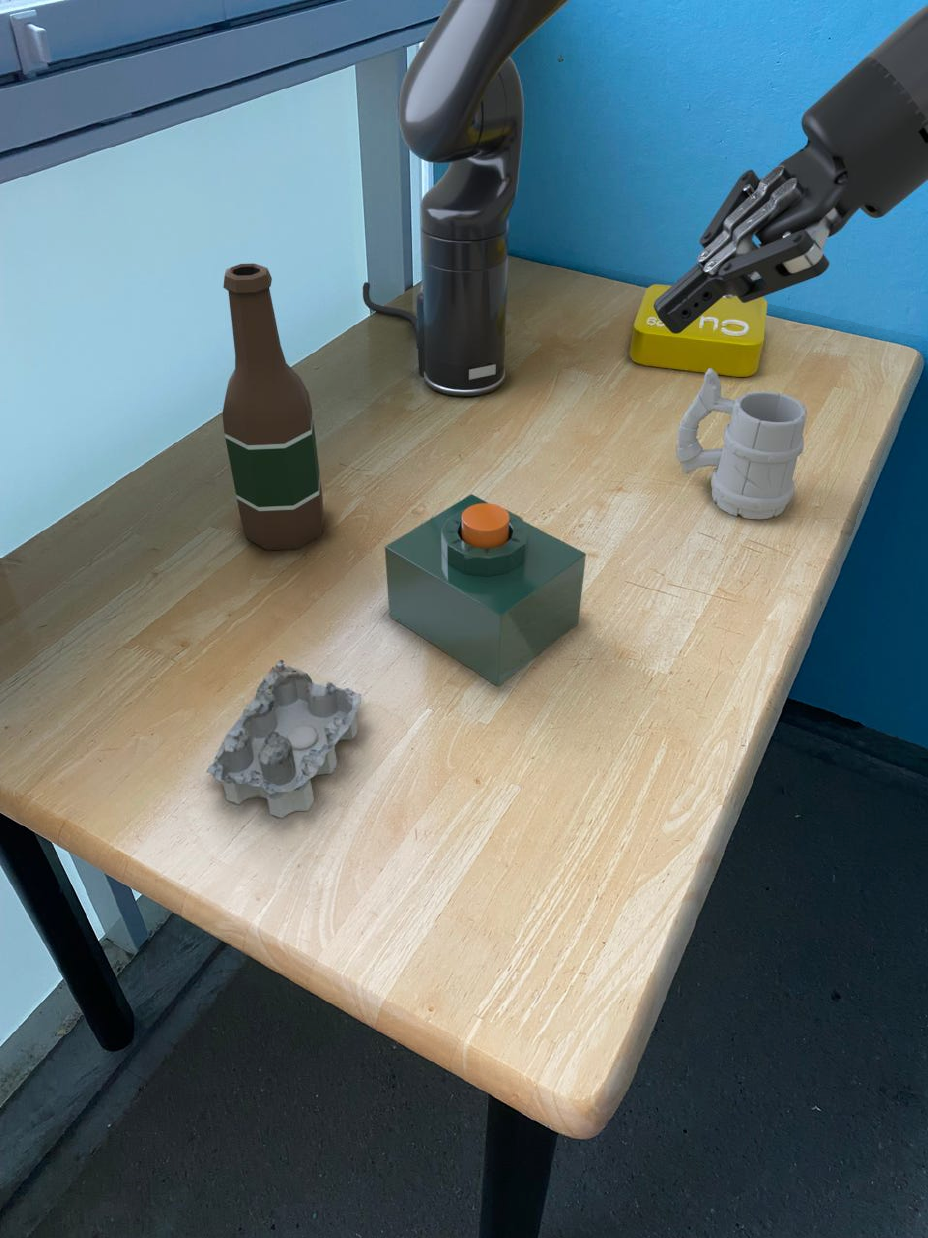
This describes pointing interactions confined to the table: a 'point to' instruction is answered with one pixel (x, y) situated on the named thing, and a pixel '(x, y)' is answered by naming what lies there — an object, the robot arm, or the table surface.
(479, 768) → the table surface
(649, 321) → the element tile
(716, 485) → the mug
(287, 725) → the egg carton
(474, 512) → the orange button
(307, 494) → the beer bottle
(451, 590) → the green button block
